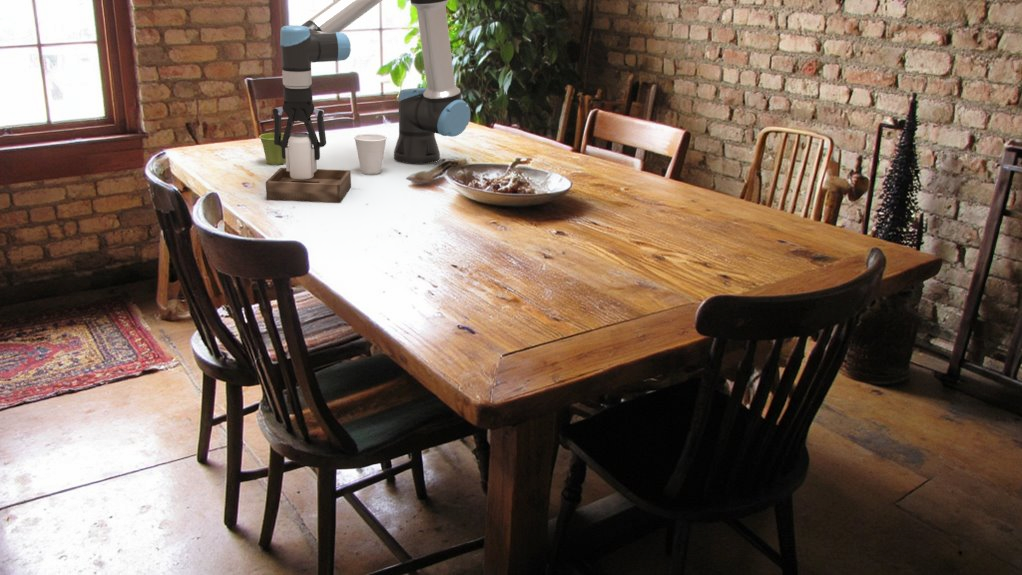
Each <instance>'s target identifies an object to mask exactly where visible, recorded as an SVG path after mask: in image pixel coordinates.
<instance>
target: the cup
mask: <svg viewBox="0 0 1022 575" xmlns="http://www.w3.org/2000/svg"><path fill="white" fill-rule="evenodd" d="M387 139H388V137H387V136H386V135H383V134H377V133H361V134H357V135H354V137H353V140H354V142H355V148H356V150H357V151H356V152H357V156H358V162H359V169H360V172H361V173H362V174H363V175H369V176H371V175H373V176H374V175H378V174H380V173H382V171H383V170H382V169H383V161H384V154H385V150H386V142H387Z"/></svg>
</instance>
